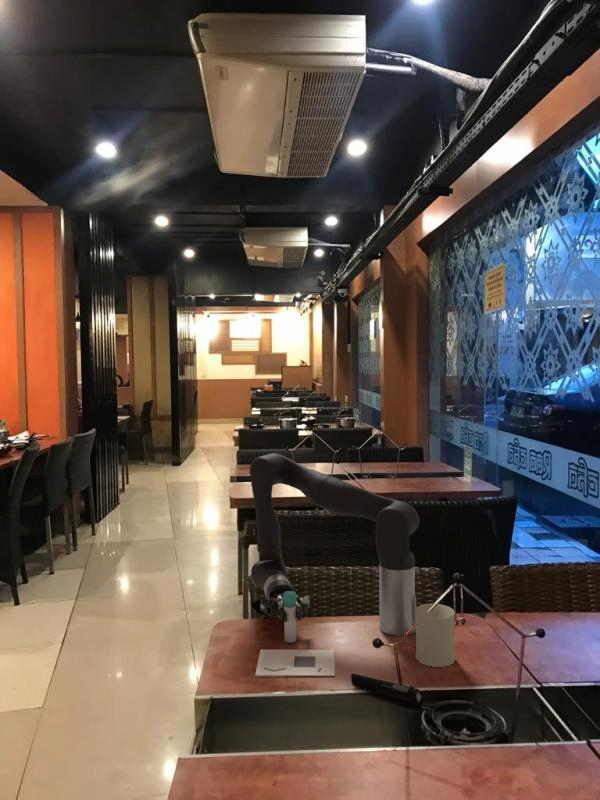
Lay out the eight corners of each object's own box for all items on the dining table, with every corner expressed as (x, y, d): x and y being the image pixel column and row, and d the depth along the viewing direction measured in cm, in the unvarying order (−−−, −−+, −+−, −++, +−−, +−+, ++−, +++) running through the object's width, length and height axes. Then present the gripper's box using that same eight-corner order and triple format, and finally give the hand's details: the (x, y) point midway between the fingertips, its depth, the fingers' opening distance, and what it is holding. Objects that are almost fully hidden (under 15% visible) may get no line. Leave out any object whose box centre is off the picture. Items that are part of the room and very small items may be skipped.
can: (419, 668, 139) (419, 617, 138) (411, 649, 148) (411, 601, 147) (459, 667, 139) (459, 616, 138) (449, 648, 148) (449, 601, 147)
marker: (297, 636, 154) (296, 590, 153) (296, 642, 151) (295, 595, 150) (284, 636, 154) (283, 591, 153) (283, 642, 151) (283, 595, 150)
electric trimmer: (355, 682, 134) (355, 668, 134) (423, 699, 126) (423, 684, 126) (348, 691, 130) (348, 676, 130) (417, 708, 123) (417, 693, 123)
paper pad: (333, 651, 147) (333, 649, 147) (335, 676, 135) (335, 674, 135) (260, 651, 148) (260, 649, 148) (255, 676, 136) (255, 674, 136)
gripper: (253, 581, 164) (264, 605, 147) (303, 576, 167) (319, 599, 151) (254, 608, 165) (265, 635, 148) (304, 602, 168) (320, 628, 151)
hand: (292, 617), depth 149 cm, fingers closed on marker, 3 cm apart
